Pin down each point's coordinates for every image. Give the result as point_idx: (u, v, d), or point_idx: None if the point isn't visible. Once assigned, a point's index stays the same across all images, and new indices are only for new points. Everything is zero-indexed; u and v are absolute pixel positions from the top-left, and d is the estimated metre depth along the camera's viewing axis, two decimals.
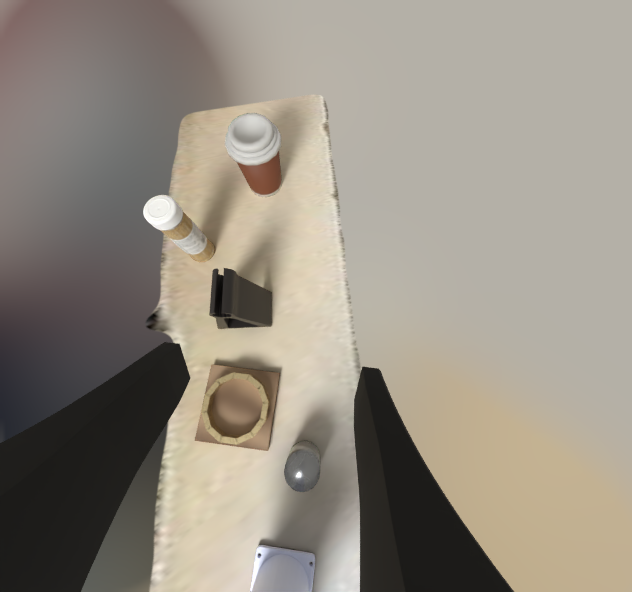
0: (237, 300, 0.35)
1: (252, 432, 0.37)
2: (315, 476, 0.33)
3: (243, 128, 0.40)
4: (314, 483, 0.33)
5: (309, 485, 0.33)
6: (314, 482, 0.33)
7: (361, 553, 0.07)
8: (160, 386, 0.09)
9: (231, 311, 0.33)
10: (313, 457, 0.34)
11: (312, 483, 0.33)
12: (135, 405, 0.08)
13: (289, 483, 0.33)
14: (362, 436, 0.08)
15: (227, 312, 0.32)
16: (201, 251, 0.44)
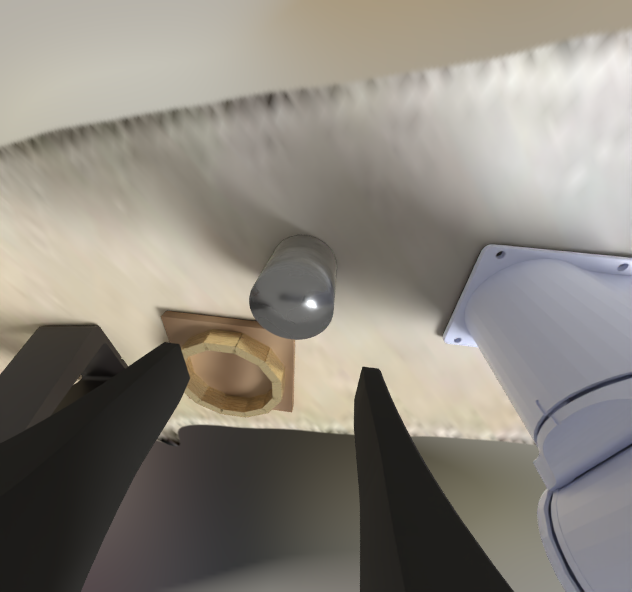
0: None
1: (258, 363, 0.20)
2: (297, 280, 0.13)
3: None
4: (314, 282, 0.13)
5: (319, 292, 0.13)
6: (311, 282, 0.13)
7: (361, 553, 0.07)
8: (160, 386, 0.09)
9: None
10: (258, 284, 0.13)
11: (314, 286, 0.13)
12: (135, 405, 0.08)
13: (317, 331, 0.15)
14: (362, 436, 0.08)
15: None
16: None
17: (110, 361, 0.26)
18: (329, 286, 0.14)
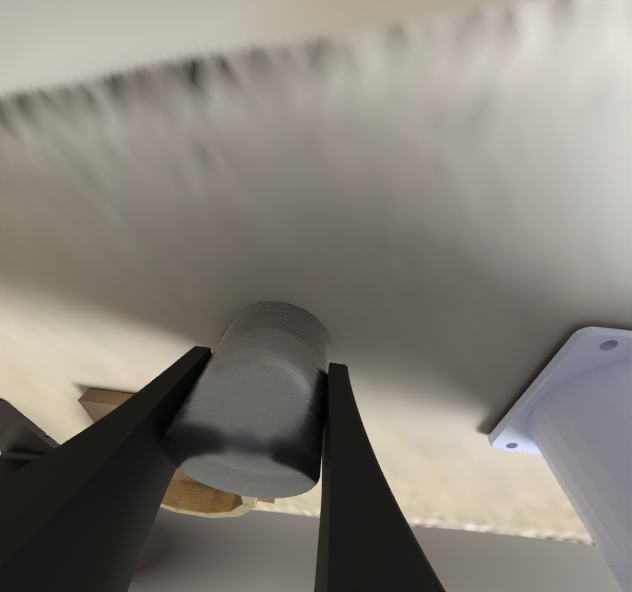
0: None
1: None
2: (246, 434, 0.06)
3: None
4: (279, 438, 0.06)
5: (291, 451, 0.07)
6: (274, 439, 0.06)
7: (318, 546, 0.07)
8: None
9: None
10: (172, 432, 0.07)
11: (280, 444, 0.07)
12: (173, 410, 0.08)
13: (293, 493, 0.08)
14: (325, 431, 0.08)
15: None
16: None
17: (31, 439, 0.19)
18: (312, 428, 0.07)
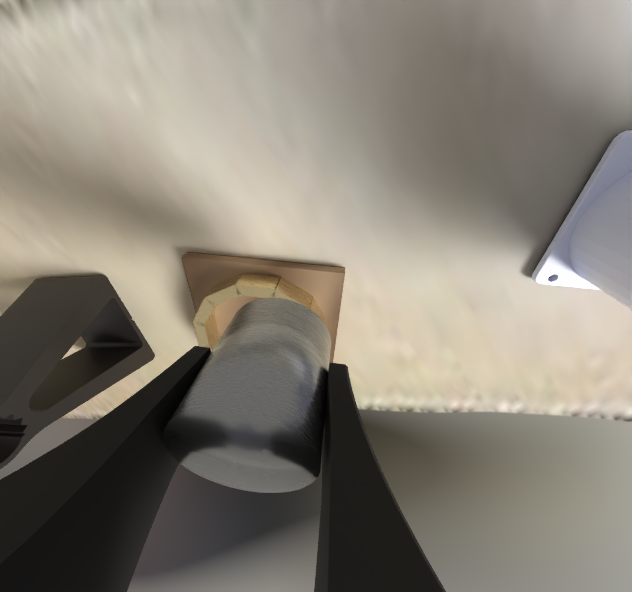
0: None
1: None
2: (249, 427, 0.06)
3: None
4: (282, 431, 0.06)
5: (292, 445, 0.07)
6: (277, 432, 0.06)
7: (318, 546, 0.07)
8: None
9: None
10: (175, 424, 0.07)
11: (283, 438, 0.07)
12: (172, 410, 0.08)
13: (292, 487, 0.08)
14: (325, 431, 0.08)
15: None
16: None
17: (119, 322, 0.22)
18: (314, 423, 0.07)
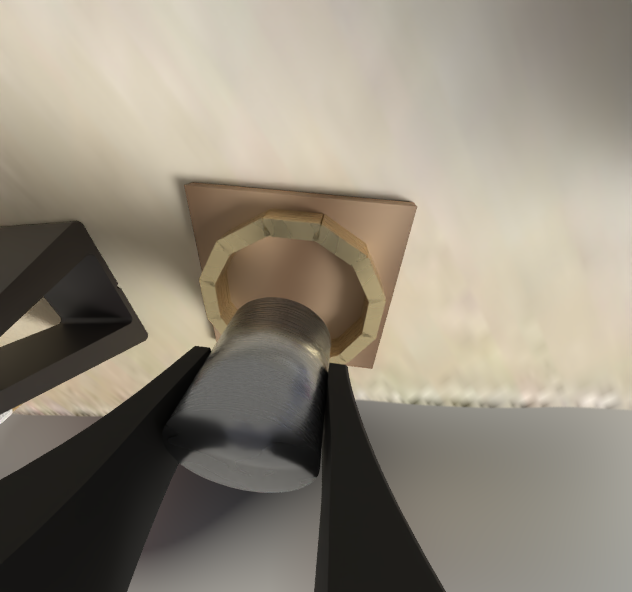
0: None
1: (355, 261, 0.12)
2: (249, 426, 0.06)
3: None
4: (282, 431, 0.06)
5: (292, 445, 0.07)
6: (277, 432, 0.06)
7: (318, 546, 0.07)
8: None
9: None
10: (174, 423, 0.07)
11: (283, 438, 0.07)
12: (173, 410, 0.08)
13: (291, 487, 0.08)
14: (325, 431, 0.08)
15: None
16: None
17: (101, 290, 0.17)
18: (314, 423, 0.07)
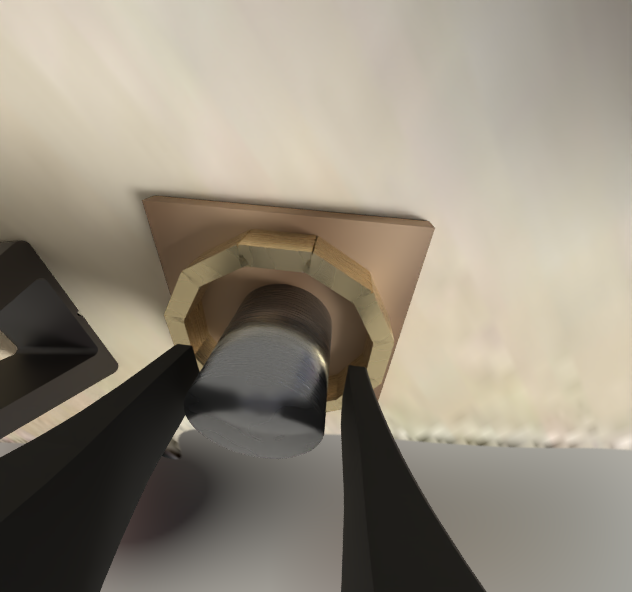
0: None
1: (356, 297, 0.09)
2: (262, 391, 0.07)
3: None
4: (292, 395, 0.07)
5: (300, 408, 0.08)
6: (287, 396, 0.07)
7: (343, 550, 0.07)
8: (174, 388, 0.09)
9: None
10: (195, 390, 0.08)
11: (292, 401, 0.07)
12: (150, 407, 0.08)
13: (298, 452, 0.09)
14: (347, 434, 0.08)
15: None
16: None
17: (59, 318, 0.15)
18: (319, 391, 0.08)
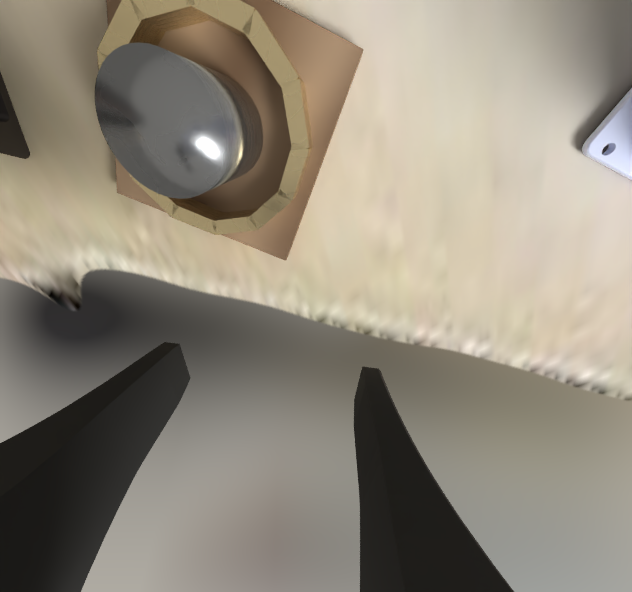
0: None
1: (284, 80, 0.11)
2: (175, 76, 0.08)
3: None
4: (201, 90, 0.08)
5: (207, 113, 0.09)
6: (197, 88, 0.08)
7: (361, 553, 0.07)
8: (160, 386, 0.09)
9: None
10: (111, 62, 0.08)
11: (201, 99, 0.08)
12: (135, 405, 0.08)
13: (197, 189, 0.10)
14: (362, 436, 0.08)
15: None
16: None
17: None
18: (228, 121, 0.09)
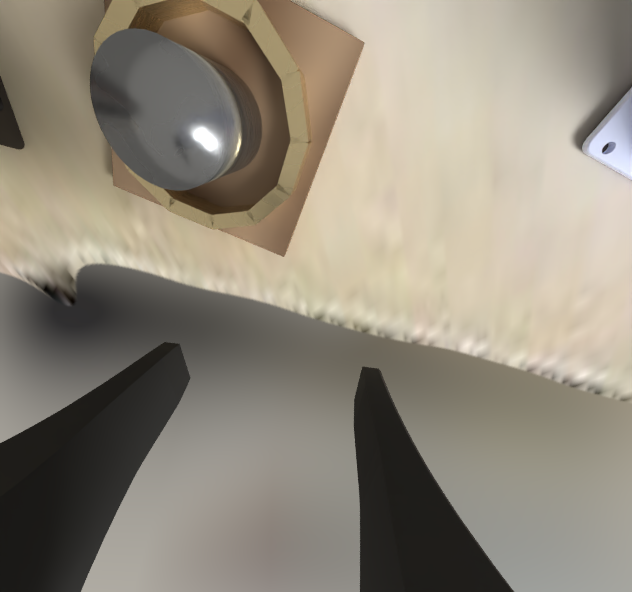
0: None
1: (284, 72, 0.11)
2: (172, 64, 0.08)
3: None
4: (199, 79, 0.08)
5: (205, 103, 0.09)
6: (195, 77, 0.08)
7: (361, 553, 0.07)
8: (160, 386, 0.09)
9: None
10: (107, 48, 0.08)
11: (198, 88, 0.08)
12: (135, 405, 0.08)
13: (194, 181, 0.10)
14: (362, 436, 0.08)
15: None
16: None
17: None
18: (226, 111, 0.09)
